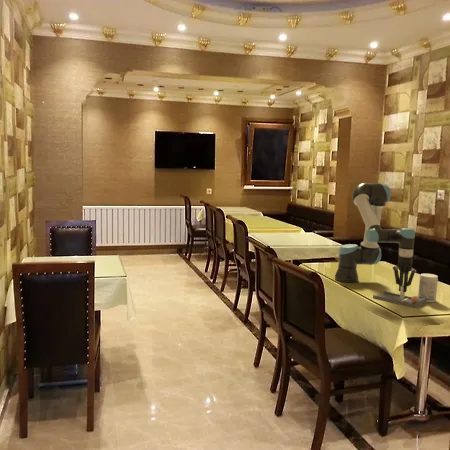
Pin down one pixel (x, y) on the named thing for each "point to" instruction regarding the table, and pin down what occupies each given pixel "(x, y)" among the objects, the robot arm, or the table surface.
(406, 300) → the grey tray
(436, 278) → the supplement tub
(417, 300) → the ball
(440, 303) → the table surface
